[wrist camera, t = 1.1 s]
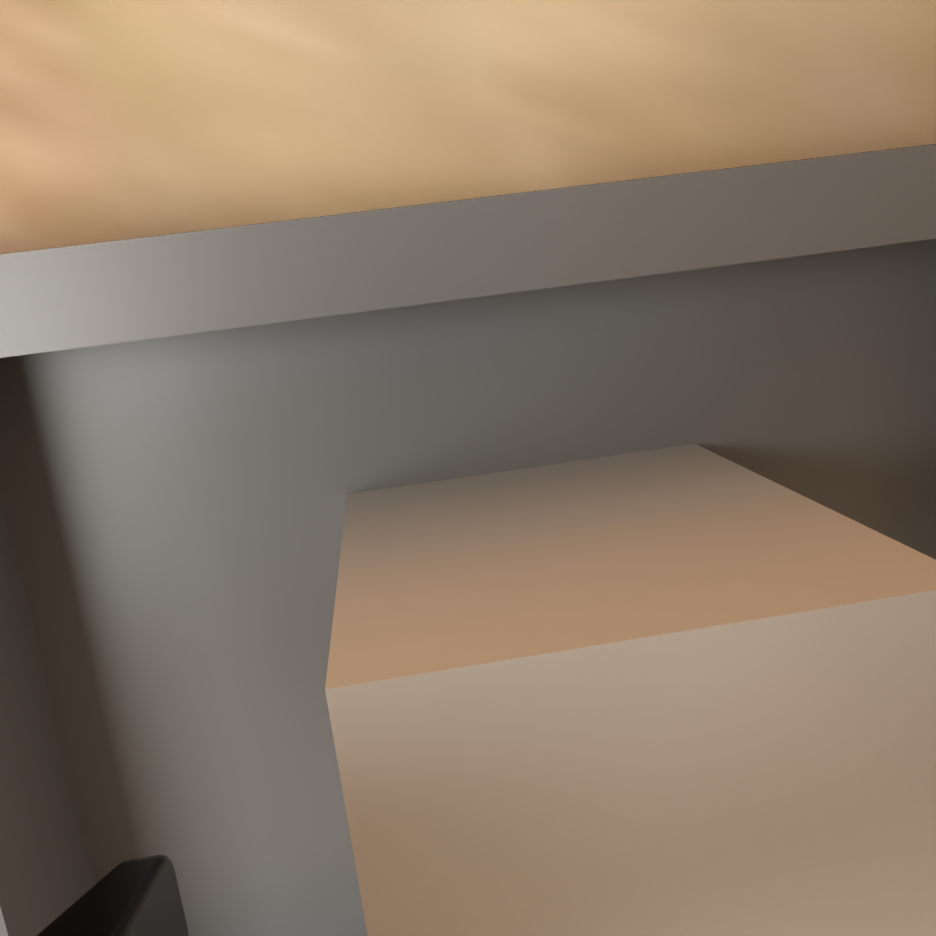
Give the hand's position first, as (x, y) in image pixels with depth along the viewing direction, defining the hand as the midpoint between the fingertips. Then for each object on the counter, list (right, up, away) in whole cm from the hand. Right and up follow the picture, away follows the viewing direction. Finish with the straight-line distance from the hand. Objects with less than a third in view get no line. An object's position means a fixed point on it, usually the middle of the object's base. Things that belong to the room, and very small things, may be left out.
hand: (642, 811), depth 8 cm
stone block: (-1, +1, +4) cm, 5 cm away
